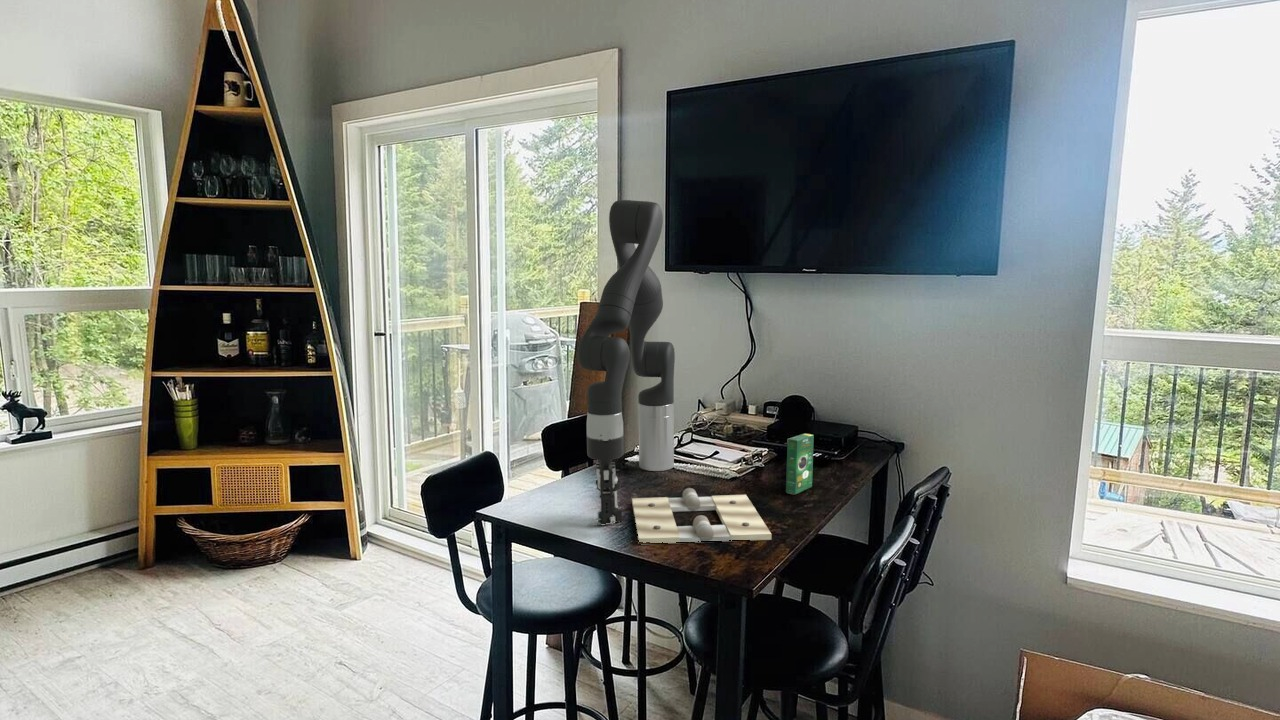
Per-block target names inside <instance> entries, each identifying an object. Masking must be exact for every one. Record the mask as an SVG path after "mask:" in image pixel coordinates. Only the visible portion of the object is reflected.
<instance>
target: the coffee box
mask: <svg viewBox="0 0 1280 720" xmlns="http://www.w3.org/2000/svg"><path fill="white" fill-rule="evenodd" d="M814 439H815V437H814V434H811V433H806V432H805V433H801V434H799V435H795V436H793V437H790V438H787V448H786V449H787V450H786V479H785V480H786V482H785V492H786V494H790V495H797V494H800V493H802V492H804V491H806V490H809V489H810V488H812V487H813V473H814V471H813V470H814V469H813V468H814V466H813V465H814V443H815V442H814Z"/></svg>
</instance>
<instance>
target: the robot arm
mask: <svg viewBox="0 0 1280 720" xmlns="http://www.w3.org/2000/svg"><path fill="white" fill-rule="evenodd" d="M608 216H609V217H608V223H609V233H610V236H611V240H612V244H613V245H612V246H613V247H614V248H613V249H614V252H615V256H616V260H617V264H618V269H617V271H615V272H614V274H612V275H611V276H610V277H609V280H607V282H606V284H605V285H604V288H603V290H602V292H601V293H602V294H601V295H600V300H599V304H598V308H597V311H596V313H595V315H594V317H593V319H592V320H591V322H590V324H589V326H588V327H587V329H586V330H585V332H584V334H583V336H582V337H581V339H580V341H579V343H578V347H577V351H576V352H577V354H576V355H577V362H578V363H579V365H580V366H581V367H582V369H584V370H586V371H593V372H606V374H607V375H606V377H605V380H603V381H597V382H593V383H591V384H589V386H588V387H587V389H586V390H587V391H586V397H587V399H586V400H587V401H586V403H587V404H586V405H587V416H586V453H587V456H588V458H590V459H593V460H598V461H599V462H595V463H596V464H595V471H596V473H595V474H596V476H597V480H598V488H599V489H600V491H599V492H600V495H599V499H600V509H601V516H602V517H611V516H612V499H613V488H614V487H615V479H614V475H616V462H613V461H612V460H616V459H619V458H621V457H623V455H624V453H625V452H624V450H625V449H624V447H625V446H624V444H625V443H624V420H623V406H622V405H623V401H622V400H623V399H622V392H623V386H624V382H625V378H626V374H627V371H628V366H629V363H630V359H631V364H632V369H633V372H634V374H635V375H636V376H638V377H642V378H660V379H661V380H660V382H659V383H657V384H656V385H654V386H652V387H649V388H646V389H643V390H641V391H639V392H638V400H637V401H638V466H639V468H640V469H642V470H644V471H650V472H651V471H652V472H662V471H669V470H671V469H673V468H674V466H675V461H674V460H675V456H674V455H675V441H674V440H675V438H674V437H675V429H674V428H675V426H674V425H675V421H674V419H675V412H674V411H675V410H674V409H675V407H674V402H675V401H674V399H675V398H674V393H675V392H674V389H675V387H674V384H675V383H674V379H675V377H674V375H675V360H676V356H675V355H676V354H675V347H674V345H673V343H672V342H670V341H646V340H645V338H646V336H647V334H648V332H649V330H650V329H651V328H652V327H653V325H654V324H655V322H657V320H658V319H659V317H660V315H661V313H662V310H663V307H664V300H663V292H662V290H663V289H662V285H661V284H662V283H661V281H660V279H659V277H658V276H657V274H656V273H655V271H653V269H652V268H651V266H650V262H651V260H652V257H653V255H654V253H655V251H656V248H657V247H658V246H657V245H658V243H659V241H660V237H661V233H662V230H663V225H664V215H663V209H662V207H661V205H660V203H657V202H653V201H647V200H645V201H644V200H633V199H632V200H630V199H619V200H616V201H614V202H613V203H612V205H611V206H610V209H609V215H608ZM635 244H636V245H637V246H635ZM628 328H629V329H628ZM626 329H628V330H629V339H630V346H629V345H628V343H627V341H626V340H625V339H624V338H622V337H618V336H611V335H612V334H615V333H619V332H620V333H621V332H623V331H625V330H626ZM630 357H631V358H630ZM603 489H610V493H603Z"/></svg>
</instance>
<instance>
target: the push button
mask: <svg viewBox="0 0 1280 720" xmlns="http://www.w3.org/2000/svg"><path fill="white" fill-rule="evenodd" d="M614 479H615V487H614V488H613V499H612V516H611V517H602V516H601V508H600V509H599V511H597V517H596V518H594V519H592V521H593V522H594V523H592V525H593V526H596V525H597V524H598V525H600V524H606V523H610V522H611V523H612V522H613V523H615V521H621V522H622V520H623V518H622V515H623V514H622V513H623V511H622V509H619V505H618V491H619V490H621V484H622V479H620V478H618V475H617V474H615V475H614ZM595 485H596V489H597V490H598V491H599V492H600V489H599V488H598V479H596V480H595ZM603 493H610V489H603ZM596 521H597V522H596ZM615 524H616V523H615Z"/></svg>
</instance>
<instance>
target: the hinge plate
mask: <svg viewBox="0 0 1280 720" xmlns="http://www.w3.org/2000/svg"><path fill="white" fill-rule="evenodd" d="M681 495H682V496H681V497H668V496H665V497H664V496H663V497H661V496H659V497H633V498H631V504H632V510H633V516H634V517H635V518H634V523H636V524H635V528H636V529H637V530H636V535H637V534H638V536H637V540H639V542H643V543H646V542H650V543H662V542H663V543H668V544H677V543H676V542H695V543H702V542H701V541H722V542H733V541H732V540H750V541H770V540H771V541H772V533H771V530H770V529H769V528H768V526H767V524H766V523H765V522H764V520H763V519H762V517H761V516H760V514H759V512H758V511H757V509H756V507H755V506H754V505H753V503H752V501H751V500H750V499H749V497H748V496H747V494H729V495H728V494H723V495H722V494H721V495H711V496H699V495H698V494H697V491H696V490H695V489H694V488H691V487H686V488H685V489H684V490H683V491H682V494H681ZM698 511H699V512H703V511H705V512H706V511H716V513H717V515H718V517H719V520H720V521H721V524H712V525H711V523H710V520H709V519H708V517H707V516H706V515H701V514H700V515H696V517H695V518H693V521H692V525H682V526H681V525H678V526H677V523H676V520H675V518H674V513H675V512H698ZM673 512H674V513H673ZM729 540H731V541H729ZM698 541H699V542H698ZM639 542H638V543H639Z"/></svg>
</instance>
